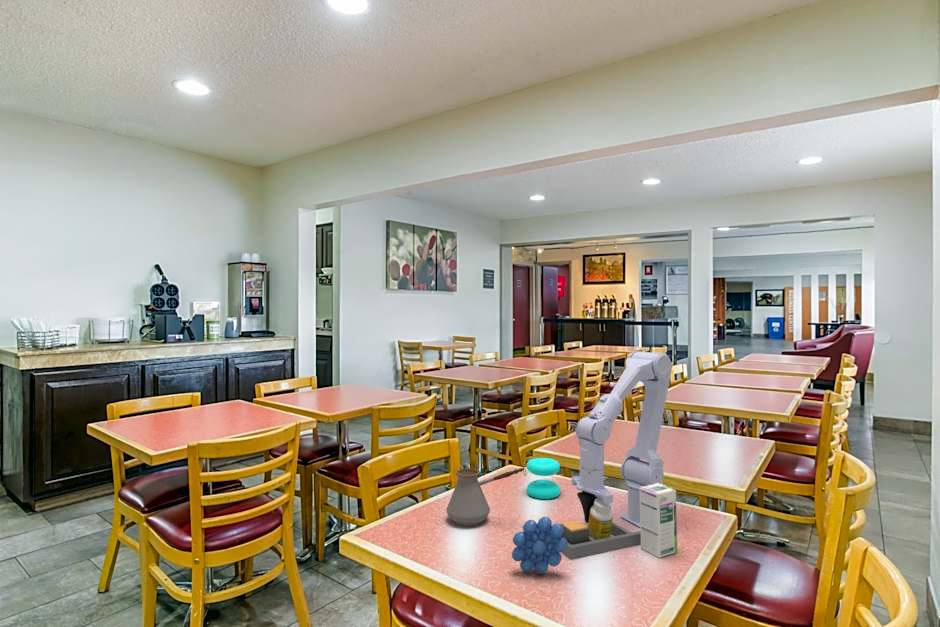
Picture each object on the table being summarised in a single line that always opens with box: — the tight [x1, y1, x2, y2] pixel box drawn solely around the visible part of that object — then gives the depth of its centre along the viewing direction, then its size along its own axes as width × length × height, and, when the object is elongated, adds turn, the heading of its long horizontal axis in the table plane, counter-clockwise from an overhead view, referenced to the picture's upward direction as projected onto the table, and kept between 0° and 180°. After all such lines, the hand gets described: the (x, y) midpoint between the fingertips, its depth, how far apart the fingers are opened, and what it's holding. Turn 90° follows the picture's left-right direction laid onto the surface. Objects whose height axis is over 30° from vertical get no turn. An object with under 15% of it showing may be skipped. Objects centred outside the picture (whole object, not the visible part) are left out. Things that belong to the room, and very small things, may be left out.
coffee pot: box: [446, 467, 528, 527], centre depth 136 cm, size 21×12×15 cm, turn 74°
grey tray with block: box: [560, 519, 641, 560], centre depth 123 cm, size 20×8×5 cm, turn 112°
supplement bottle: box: [587, 498, 614, 540], centre depth 124 cm, size 5×5×10 cm
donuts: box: [526, 457, 561, 500], centre depth 156 cm, size 10×10×10 cm
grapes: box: [511, 516, 568, 575], centre depth 110 cm, size 12×7×12 cm, turn 83°
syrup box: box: [639, 483, 678, 559], centre depth 119 cm, size 6×6×14 cm
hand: (590, 522), depth 127 cm, fingers closed, pressing on supplement bottle
